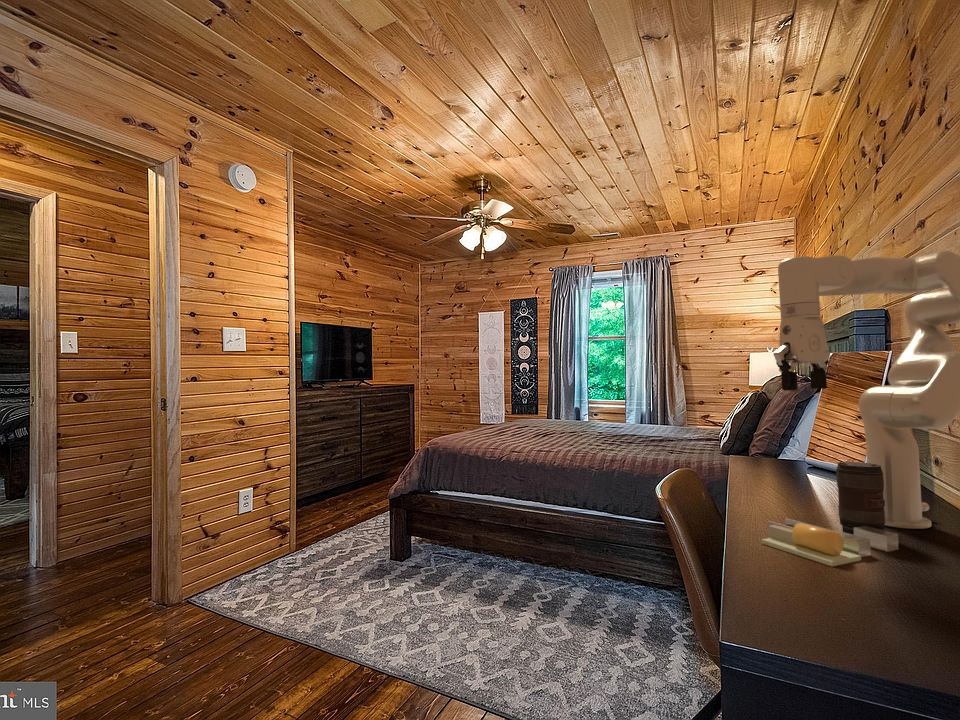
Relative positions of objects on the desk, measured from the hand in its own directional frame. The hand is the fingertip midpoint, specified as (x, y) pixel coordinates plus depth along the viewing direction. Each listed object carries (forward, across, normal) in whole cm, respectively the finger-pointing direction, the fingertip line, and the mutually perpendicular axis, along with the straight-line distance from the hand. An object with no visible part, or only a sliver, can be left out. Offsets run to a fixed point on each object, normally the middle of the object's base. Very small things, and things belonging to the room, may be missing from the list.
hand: (804, 389), depth 111 cm
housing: (+31, -3, -4) cm, 31 cm away
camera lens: (+32, +7, -6) cm, 33 cm away
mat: (+31, -14, -9) cm, 35 cm away
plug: (+30, -15, -7) cm, 34 cm away
